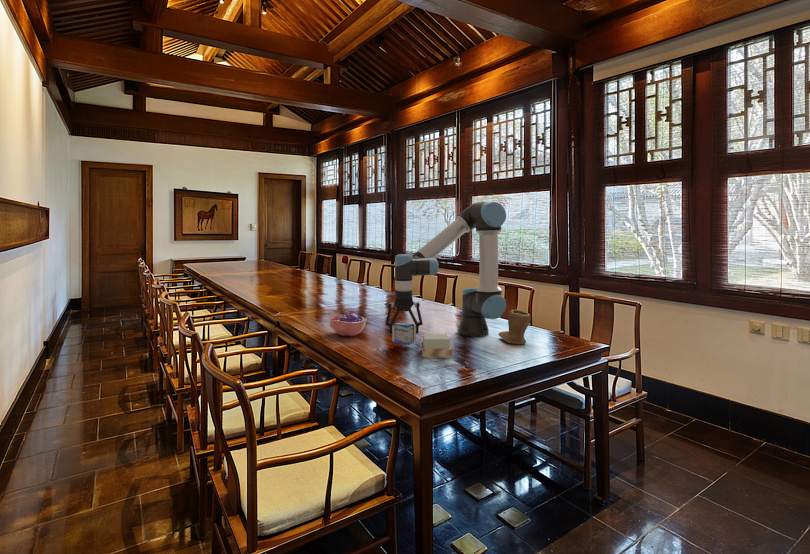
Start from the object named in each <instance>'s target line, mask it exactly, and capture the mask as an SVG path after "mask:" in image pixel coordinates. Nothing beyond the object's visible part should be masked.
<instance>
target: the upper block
mask: <svg viewBox="0 0 810 554" xmlns="http://www.w3.org/2000/svg"><path fill="white" fill-rule="evenodd" d="M422 342H423V345H424V348H425V349H449V342H450V338H449V336H448V334H447V333H445V332H444V333H442V332H441V333H436V332H435V333H433V332H432V333H427V332H426V333H425V332H424V333H422Z"/></svg>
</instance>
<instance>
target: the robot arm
mask: <svg viewBox="0 0 810 554" xmlns="http://www.w3.org/2000/svg"><path fill="white" fill-rule="evenodd" d="M506 219H507V211H506V208H505V207H504V205H502V204H501V203H500V202H499V201H496V200H494V201H493V200H486V201H477V202H474V203H471V205H469V206H468V207H466V208H465V209H463V210H462V211H460V213H459V214H457V215H456V216H455V219H454V221H452V222H451V223H450V224H448V226H447V227H445V228H444V229H442V230H441V231H440V232H439V233H438V234H437V235H435V236H434V237H433V238H432V239H431V240H430V241H428V242H426V244H425V245H424V246H422V247H421V248H419V249H418V250H417V251H416V252H415V253H414V254H407V253H405V254H404V253H401V254H399V253H398V254H396V255H395V258H394V289H395V291H394V293H395V294H394V301H393V302H388V304H387V306H388V310H387V316H386V321H385V326H388V327H389V334H392V338H391V341H392V342H393V343H394V324H395V321H396V320H397V318H398V315H399V313H400V312H408V313H409V315H410V317H411V320H412V321H413V324H414V343H415V342H417V334H419V327H420V326H422V325H423V324H424V323H423V320H422V319H423V318H422V314H421V309H420V305H421V304H420V302H419V301H417V302H415V301H414V300H413V277H417V276H433V275H434V276H435V275H437V274H438V272H439V269H440V268H439V262H438V260H437V258H436V257H437V256H438V255H440V254H441V253H442V252H443V251H444V250H446V249H447V248H449V246H451V245H452V244H453V243H454V242H456V241H457V240H459V238H460V237H462V236H463V235H464V234H466V233H470V232H471V231H473V229H475V232H476V233H477V234H478V236H479V237H478V240H479V241H478V245H479V247H478V248H479V249H478V252H479V253H478V254H479V257H478V258H479V264H478V266H479V272H478V274H479V277H478V279H479V280H478V281H479V286H478V287H470V288H469V287H467V288H464V289H463V290H462V294H461V298H462V299H461V319H460V322H459V324H458V328H457V333H458V334H459V335H461V336H464V337H473V338H474V337H476V338H477V337H486V336H488V335H489V332H490V331H489V327H488V324H487V320H486V319H488V320H495V319H496V320H497V319H499V318H500V317H502V315H504V313H505V312H506V309H507V302H506V299H505V298H504V297H503V296H502V288H501V287H500V286H499V234H500V233H501V232H502V226H503V225H504V223H505V222H506V221H507V220H506ZM413 306H414V307H415V308H416V313H417V318H418V320H417V318H416V316H415V314H414V313H413V311H412V308H413ZM394 307H396V310H395V313H393V317H392V319H391V321H390V318H391V313H392V309H393V308H394Z"/></svg>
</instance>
